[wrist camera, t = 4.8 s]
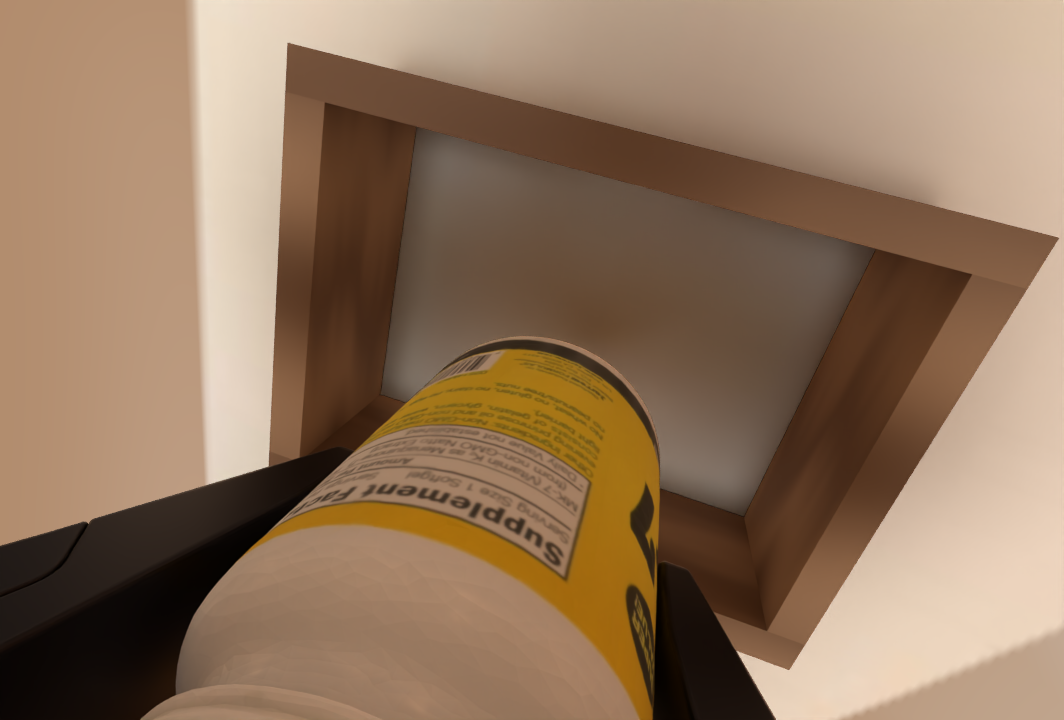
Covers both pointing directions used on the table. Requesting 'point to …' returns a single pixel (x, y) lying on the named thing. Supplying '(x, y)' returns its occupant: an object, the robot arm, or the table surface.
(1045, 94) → the table surface
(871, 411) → the walnut box
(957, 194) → the table surface
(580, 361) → the supplement bottle
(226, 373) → the table surface
